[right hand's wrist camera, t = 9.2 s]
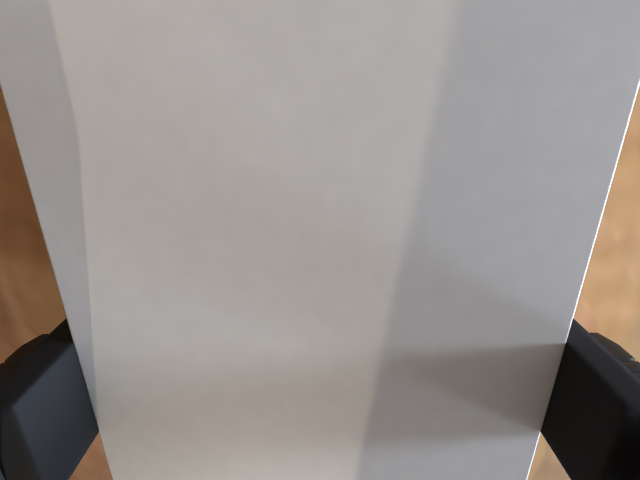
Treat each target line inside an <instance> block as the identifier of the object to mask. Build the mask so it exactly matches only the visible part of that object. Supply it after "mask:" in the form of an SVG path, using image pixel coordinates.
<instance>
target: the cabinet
mask: <svg viewBox="0 0 640 480" xmlns="http://www.w3.org/2000/svg"><path fill="white" fill-rule="evenodd" d="M639 84H640V0H0V86H1V89H2V93H3V96H4V100H5V103H6V107H7V111H8V114H9V118H10V121H11V125H12V128H13V132H14V135H15V139H16V142H17V146H18V149H19V153H20V156H21V160H22V163H23V167H24V170H25V174H26V177H27V181H28V184H29V188H30V191H31V195H32V198H33V202H34V205H35V209H36V212H37V216H38V219H39V223H40V226H41V230H42V233H43V237H44V240H45V244H46V247H47V251H48V254H49V258H50V261H51V265H52V268H53V272H54V275H55V279H56V283H57V286H58V290H59V293H60V297H61V300H62V304H63V307H64V311H65V314H66V318H67V321H68V325H69V328H70V332H71V335H72V339H73V342H74V346H75V349H76V353H77V356H78V360H79V363H80V367H81V370H82V374H83V377H84V381H85V384H86V388H87V391H88V395H89V398H90V402H91V405H92V409H93V412H94V416H95V419H96V423H97V426H98V430H99V433H100V437H101V440H102V444H103V448H104V451H105V455H106V458H107V462H108V465H109V469H110V472H111V476H112V479H113V480H527V478H528V474H529V471H530V467H531V464H532V460H533V457H534V453H535V450H536V446H537V443H538V439H539V436H540V432H541V429H542V425H543V422H544V418H545V415H546V411H547V408H548V404H549V401H550V397H551V394H552V390H553V387H554V383H555V380H556V376H557V373H558V369H559V365H560V362H561V358H562V355H563V351H564V348H565V344H566V341H567V337H568V334H569V330H570V327H571V323H572V320H573V316H574V313H575V309H576V306H577V302H578V299H579V295H580V292H581V288H582V285H583V281H584V278H585V274H586V271H587V267H588V264H589V260H590V256H591V253H592V249H593V246H594V242H595V239H596V235H597V232H598V228H599V225H600V221H601V218H602V214H603V211H604V207H605V204H606V200H607V197H608V193H609V190H610V186H611V183H612V179H613V176H614V172H615V169H616V165H617V162H618V158H619V154H620V151H621V147H622V144H623V140H624V137H625V133H626V130H627V126H628V123H629V119H630V116H631V112H632V109H633V105H634V102H635V98H636V95H637V91H638V88H639Z"/></svg>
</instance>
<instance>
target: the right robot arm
mask: <svg viewBox="0 0 640 480" xmlns="http://www.w3.org/2000/svg"><path fill="white" fill-rule="evenodd" d="M98 432H99V430H98V426H97V423H96V419H95V416H94V412H93V409H92V405H91V402H90V398H89V395H88V391H87V388H86V384H85V381H84V377H83V374H82V370H81V367H80V363H79V360H78V356H77V353H76V349H75V346H74V342H73V339H72V335H71V332H70V328H69V325H68V321H67V318H66V319H65V320H64V321H63V322H62V323H61V324H60V325H59V326H58V327H56V328H55V329H54V330H53V331H52V332H51V333H50V334H42V335H40V336H38V337H37V338H35V339H33V340H31V341H30V342H28V343H26V344H24V345H22V346H21V347H20V348H19V349H17V350H16V351H15V352H14V353H13V354H12V355H11V356H10V357H8V358H7V359H6V360H5V363H2V364H0V480H68V479H69V478H70V476H71V475H72V473H73V472H74V470H75V468H76V467H77V465H78V464H79V462H80V461H81V459H82V457H83V456H84V454H85V453H86V451H87V450H88V448H89V446H90V445H91V443H92V442H93V440H94V439H95V437H96V435H97V434H98ZM541 433H542V434H543V436H544V438H545V439H546V441H547V442H548V444H549V445H550V447H551V449H552V450H553V452H554V453H555V455H556V456H557V458H558V460H559V461H560V463H561V464H562V466H563V468H564V469H565V471H566V472H567V474H568V475H569V477H570V479H571V480H640V363H639V362H635V359H634V358H633V357H632V356H631V355H630V354H629V353H628V352H626V351H625V350H624V349H623V348H622V347H621V346H619V345H618V344H616V343H615V342H613V341H611V340H609V339H607V338H606V337H604V336H602V335H600V334H599V333H588V332H587V331H586V330H585V329H584V328H583V327H582V326H581V325H580V324H579V323H578V322H577V321H575V320H574V319H573V320H572V323H571V327H570V330H569V334H568V337H567V341H566V344H565V348H564V351H563V355H562V358H561V362H560V365H559V369H558V373H557V376H556V380H555V383H554V387H553V390H552V394H551V397H550V401H549V404H548V408H547V411H546V415H545V418H544V422H543V425H542V429H541Z"/></svg>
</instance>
